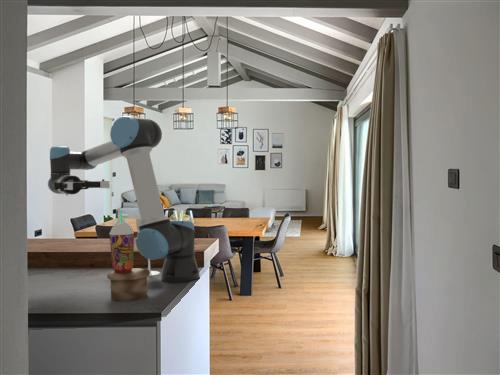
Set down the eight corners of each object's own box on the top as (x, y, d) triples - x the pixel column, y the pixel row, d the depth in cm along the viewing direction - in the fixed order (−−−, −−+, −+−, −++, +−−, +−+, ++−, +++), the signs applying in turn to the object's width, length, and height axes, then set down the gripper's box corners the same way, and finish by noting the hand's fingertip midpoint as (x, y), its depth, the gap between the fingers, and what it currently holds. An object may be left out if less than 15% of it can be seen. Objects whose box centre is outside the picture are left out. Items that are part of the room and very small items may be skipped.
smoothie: (121, 275, 149) (119, 215, 148) (105, 272, 154) (103, 214, 153) (140, 270, 156) (138, 213, 155) (124, 268, 161) (122, 212, 160)
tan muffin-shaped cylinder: (146, 288, 163) (146, 266, 162) (153, 298, 150) (152, 274, 149) (106, 293, 157) (105, 270, 157) (109, 303, 144) (108, 279, 144)
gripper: (99, 192, 186) (123, 194, 171) (36, 195, 170) (55, 197, 154) (99, 174, 186) (122, 174, 170) (35, 175, 169) (54, 175, 154)
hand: (90, 185), depth 162 cm, fingers open, 13 cm apart
